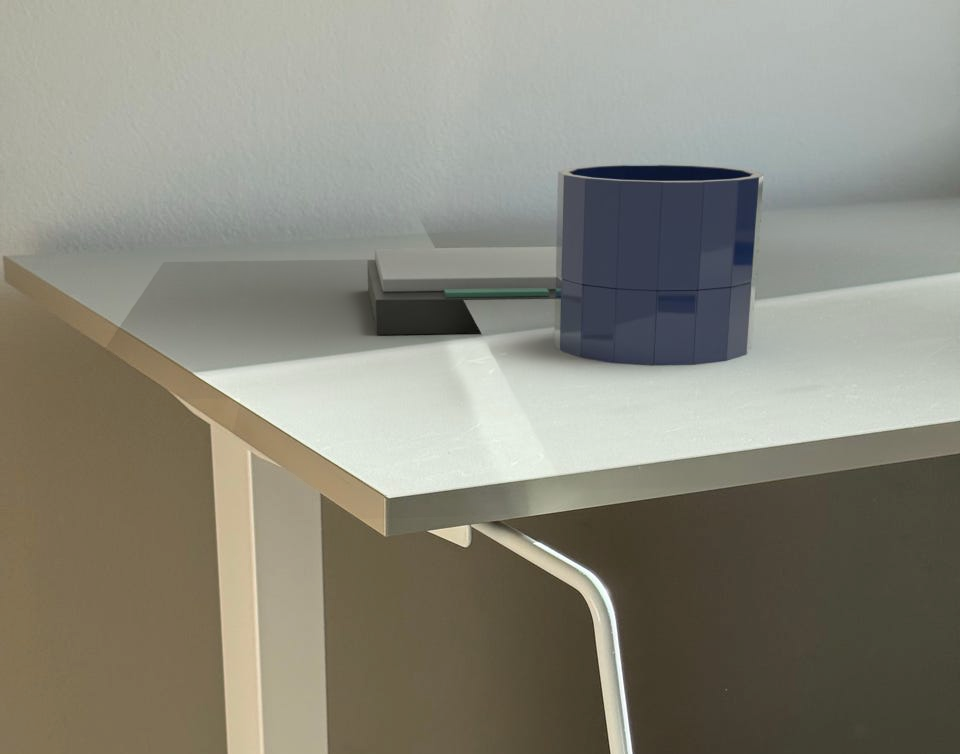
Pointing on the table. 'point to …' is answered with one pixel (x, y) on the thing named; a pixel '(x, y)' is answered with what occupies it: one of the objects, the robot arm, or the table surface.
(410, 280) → the scale
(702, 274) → the faceted navy pot
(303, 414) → the table surface
